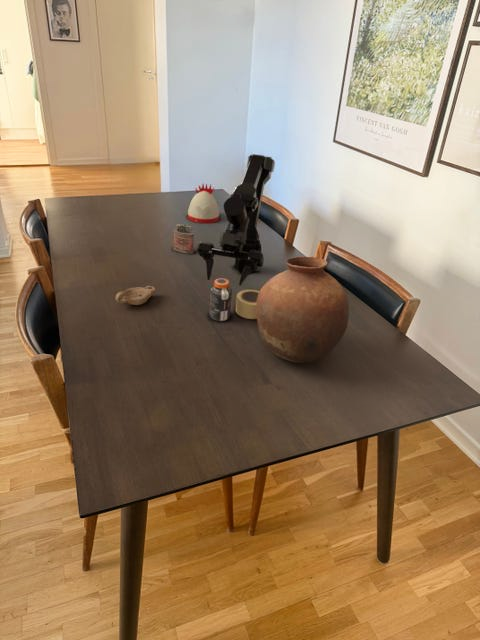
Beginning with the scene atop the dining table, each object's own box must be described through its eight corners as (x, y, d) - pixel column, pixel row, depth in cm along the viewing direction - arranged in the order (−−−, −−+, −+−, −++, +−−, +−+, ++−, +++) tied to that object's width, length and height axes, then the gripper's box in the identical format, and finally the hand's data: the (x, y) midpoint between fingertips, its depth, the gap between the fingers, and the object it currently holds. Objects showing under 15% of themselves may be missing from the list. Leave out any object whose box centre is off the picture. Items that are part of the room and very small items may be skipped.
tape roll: (255, 301, 138) (257, 287, 135) (271, 315, 131) (273, 300, 128) (230, 306, 133) (231, 292, 131) (245, 321, 127) (246, 306, 124)
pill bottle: (231, 321, 126) (233, 286, 120) (210, 321, 126) (211, 286, 120) (228, 310, 131) (231, 276, 125) (208, 310, 131) (210, 276, 125)
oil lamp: (147, 290, 138) (147, 276, 135) (162, 300, 134) (161, 285, 131) (109, 303, 130) (108, 288, 127) (123, 314, 125) (122, 298, 123)
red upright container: (171, 249, 166) (171, 224, 160) (176, 246, 168) (176, 221, 163) (191, 254, 163) (191, 228, 158) (195, 251, 166) (196, 225, 161)
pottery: (318, 390, 104) (339, 296, 91) (235, 353, 113) (243, 264, 100) (351, 345, 121) (373, 261, 108) (277, 317, 130) (288, 236, 117)
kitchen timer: (218, 224, 193) (219, 189, 185) (186, 221, 192) (186, 186, 185) (219, 213, 205) (221, 180, 197) (189, 211, 204) (190, 177, 196)
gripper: (199, 214, 122) (185, 266, 119) (266, 224, 120) (253, 278, 116) (207, 231, 133) (194, 280, 130) (268, 241, 130) (257, 291, 127)
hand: (223, 282), depth 125 cm, fingers open, 9 cm apart
